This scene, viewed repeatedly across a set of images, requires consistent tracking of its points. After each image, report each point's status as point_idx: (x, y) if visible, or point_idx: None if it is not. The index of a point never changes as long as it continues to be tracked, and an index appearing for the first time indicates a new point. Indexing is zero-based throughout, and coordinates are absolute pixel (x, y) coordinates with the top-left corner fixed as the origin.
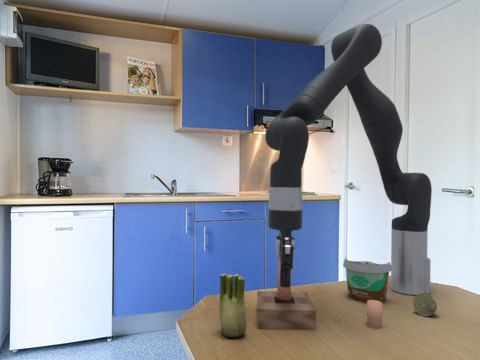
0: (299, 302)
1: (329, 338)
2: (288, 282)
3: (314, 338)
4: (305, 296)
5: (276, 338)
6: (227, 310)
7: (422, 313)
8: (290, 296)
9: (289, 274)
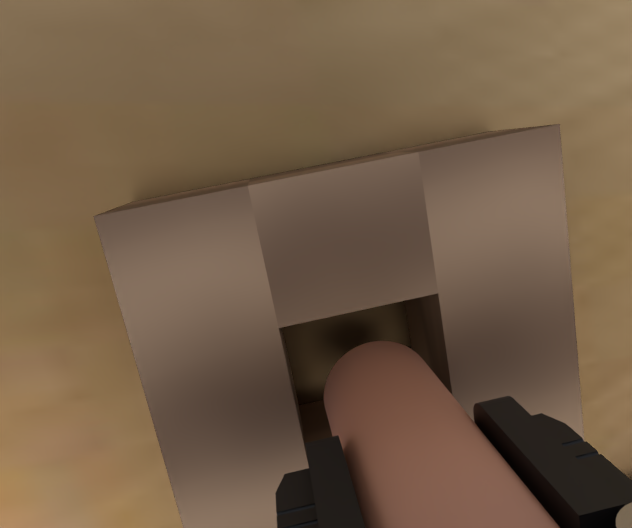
0: (406, 263)
1: (593, 48)
2: (569, 432)
3: (603, 137)
4: (235, 223)
5: (626, 334)
6: None
7: None
8: (401, 350)
9: (590, 479)
